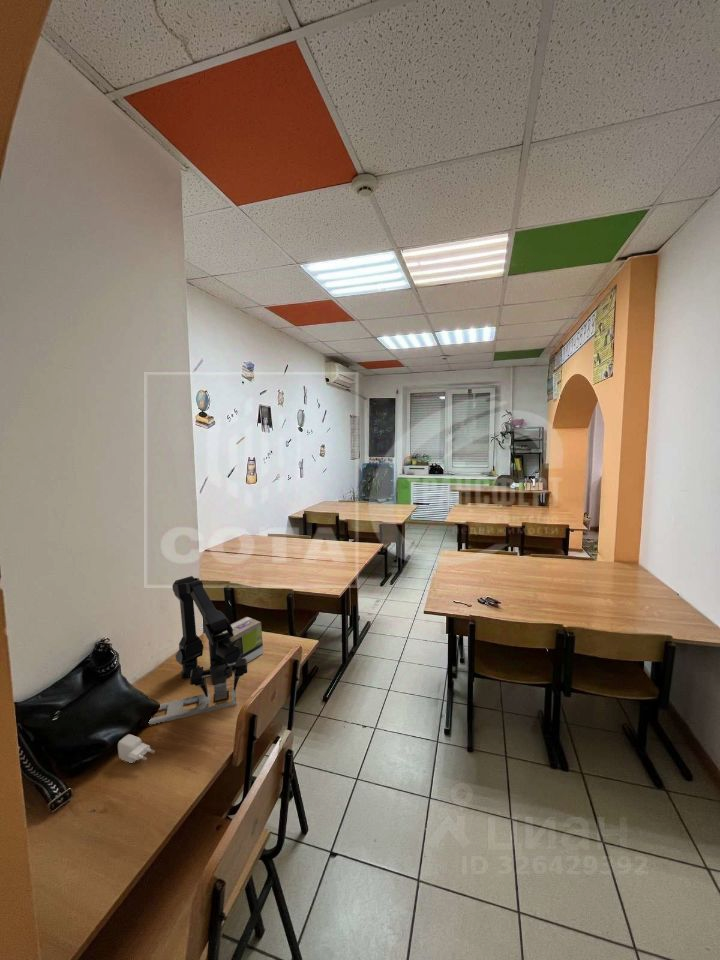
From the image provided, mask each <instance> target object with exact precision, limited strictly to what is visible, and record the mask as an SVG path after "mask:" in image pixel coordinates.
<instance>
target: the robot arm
mask: <svg viewBox="0 0 720 960" xmlns="http://www.w3.org/2000/svg"><path fill="white" fill-rule="evenodd" d="M172 591H173V594H174V596H175V597H176V598H177V599H178V601H179V604H180V605H179V608H180V618H181V619H180V620H181V629H182V637H181V639H180V641H179V643H178V646H179V647H178V651H177V652H176V654H175V655H174V656H175V659H176V660H175V661H176V662H177V663H178V664H179V665H180V666H181V668H182V669H181V675H180V679H181V680H182V679H187V678H189V684H190V685H191V686H195V687H197V686H199V687H200V688H201V690H202V691H203V694H205V695H206V697H208V693H209V692H208V691H209V690H208V685H207V680H206V678H207V677H210V681H211V683H210V684H211V685H212V686H214V685H217V684H221V683H222V684H223V683H225V682H226V683H227V680H228V679H230V677H233V687H234V691H235V689H236V690H237V686H238V682H239V679H240V678H241V677H243V676H244V675H245V674H248V663H247V660H246V659H245V658H243V659H238V658H239V656H240V649H239V648H238V647H237V646H236V645H234V642H232V641H230V638H231V637H233V636H234V634H233V629H232V627H231V623H230V620H229V619H228V618H227V616H226V615H225V614H224V612H223V611H221V610H219V609H216V607H215V605H214V604H213V602H212V600H211V599H210V597H209V595H208V593H207V590H206V589H205V588H204V583H203V581H202V580H200V578H199V577H194V576H192V575H190V576H186V577H183V578H179V579H176V580H175V581H174V582H173V584H172ZM194 604H195V605H194ZM195 606H196V607H197V609H198V611H199V612H200V615H201V617H202V619H203V621H202V627H203V632H204V634H205V636H206V638H207V639H208V652H209V665H210V667H209V669H204V667H203V666H201V665H199V663H198V658H200V657H202V656H203V652H204V643H203V640H202V639H201V638H200V637H199V636H198V635H197V630H196V626H197V625H196V618H195V617H196V616H195V614H196V613H195ZM225 631H227V633H225V634H220V633H222V632H225ZM237 659H238V660H237ZM234 662H235V664H233V665H228V664H232V663H234ZM233 671H234V676H233Z"/></svg>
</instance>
